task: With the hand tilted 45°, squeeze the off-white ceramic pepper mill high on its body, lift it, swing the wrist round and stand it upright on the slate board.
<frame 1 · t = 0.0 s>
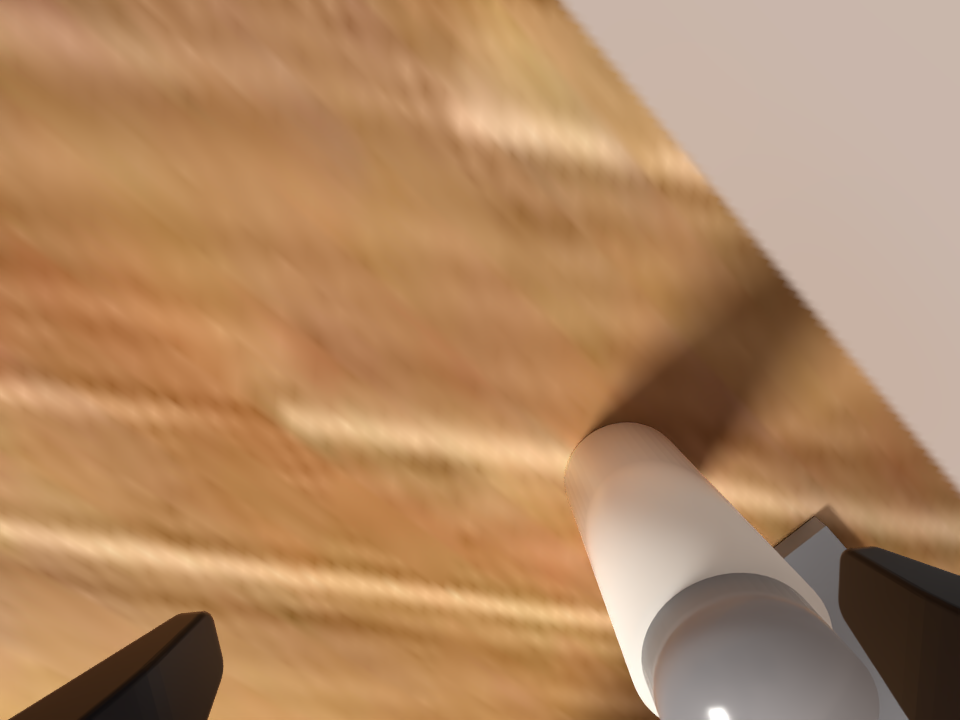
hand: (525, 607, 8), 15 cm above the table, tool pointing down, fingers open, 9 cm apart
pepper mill: (623, 478, 23), on the table
slate board: (828, 697, 26), on the table
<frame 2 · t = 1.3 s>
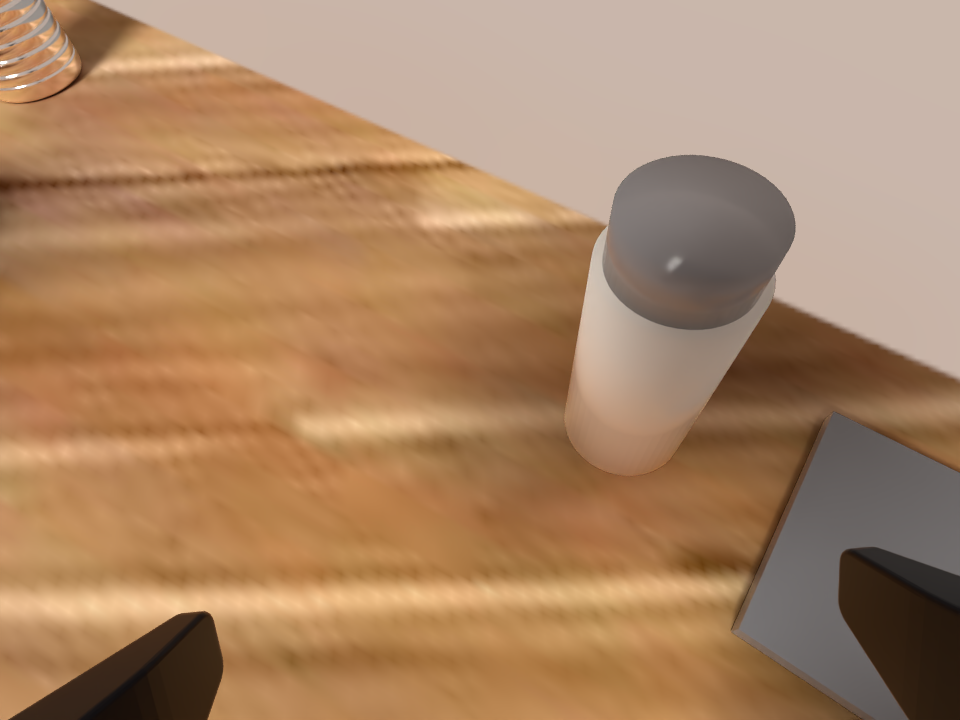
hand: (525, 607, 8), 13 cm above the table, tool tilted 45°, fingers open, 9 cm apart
water bottle: (41, 81, 41), on the table
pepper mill: (622, 420, 24), on the table
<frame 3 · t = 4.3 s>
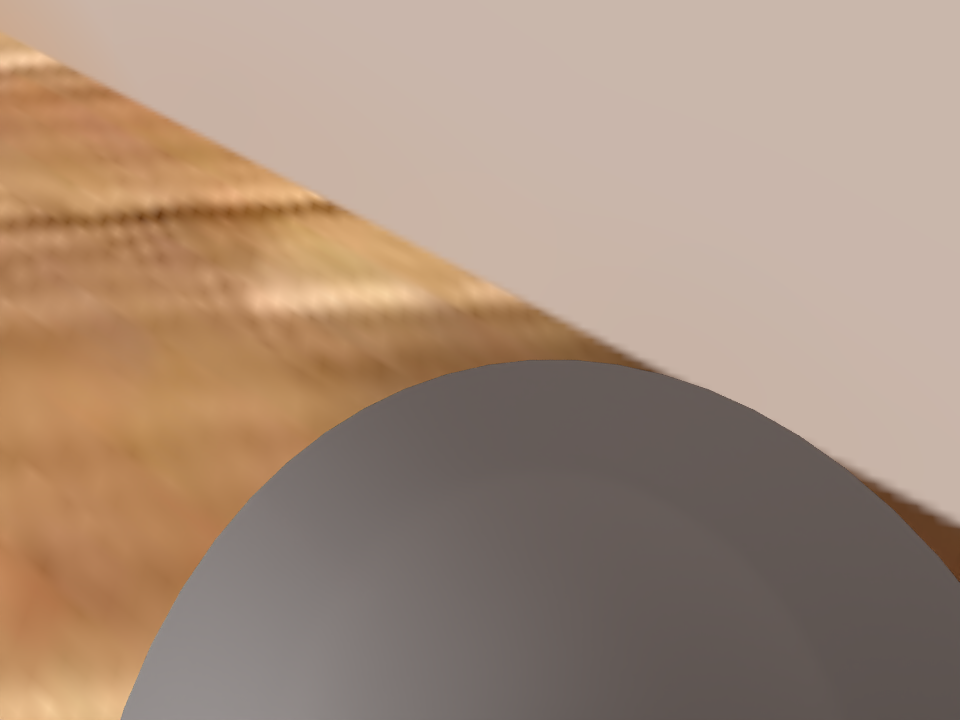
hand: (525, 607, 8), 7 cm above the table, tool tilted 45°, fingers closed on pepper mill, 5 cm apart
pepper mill: (532, 718, 13), on the table, touching gripper
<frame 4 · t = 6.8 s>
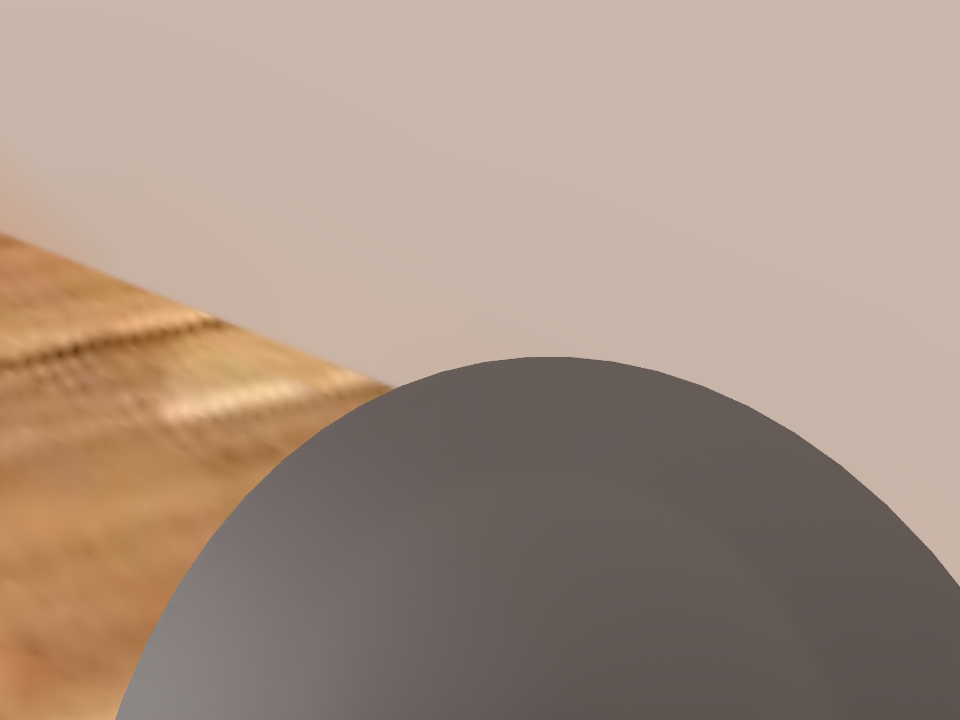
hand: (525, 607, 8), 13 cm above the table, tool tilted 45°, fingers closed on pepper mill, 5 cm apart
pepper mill: (531, 717, 13), point 7 cm above the table, touching gripper
when the fingers open (8 cm above the table, at t = 9.4 s): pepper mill drops 1 cm, resting on slate board.
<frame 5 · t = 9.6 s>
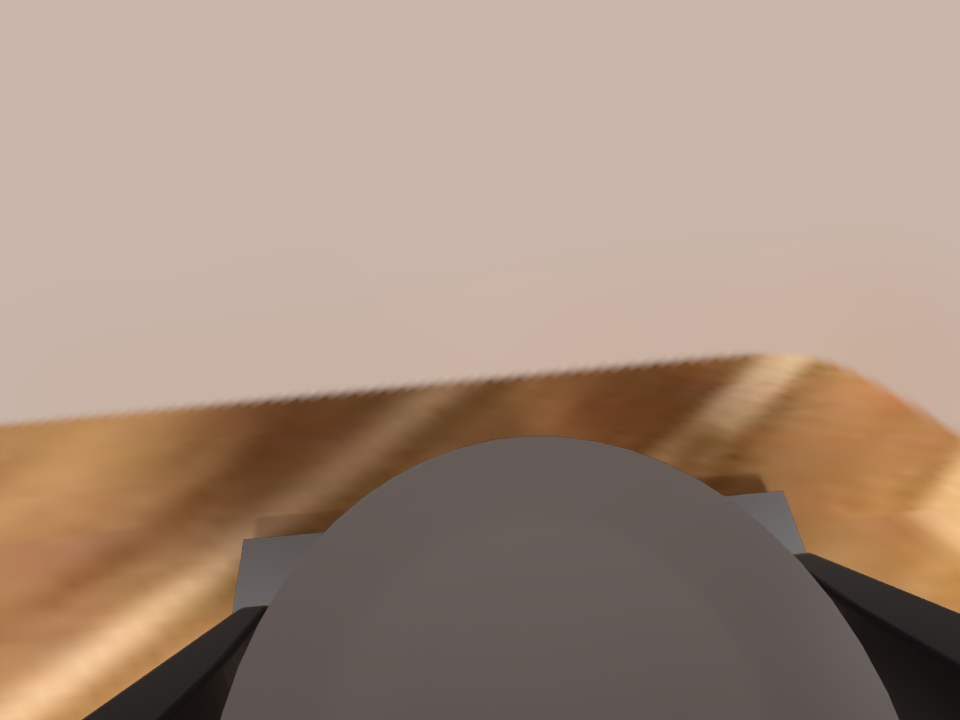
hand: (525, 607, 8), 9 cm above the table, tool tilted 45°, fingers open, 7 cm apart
slate board: (530, 715, 14), on the table
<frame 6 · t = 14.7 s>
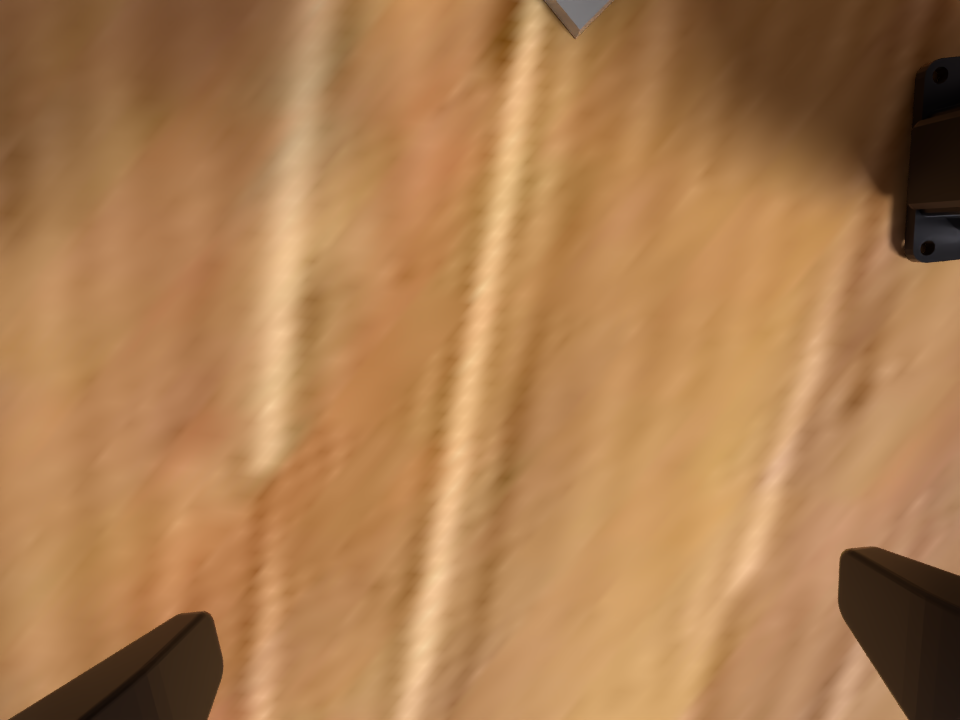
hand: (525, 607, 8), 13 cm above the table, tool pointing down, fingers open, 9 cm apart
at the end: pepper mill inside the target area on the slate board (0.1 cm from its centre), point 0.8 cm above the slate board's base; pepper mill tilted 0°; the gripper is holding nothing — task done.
